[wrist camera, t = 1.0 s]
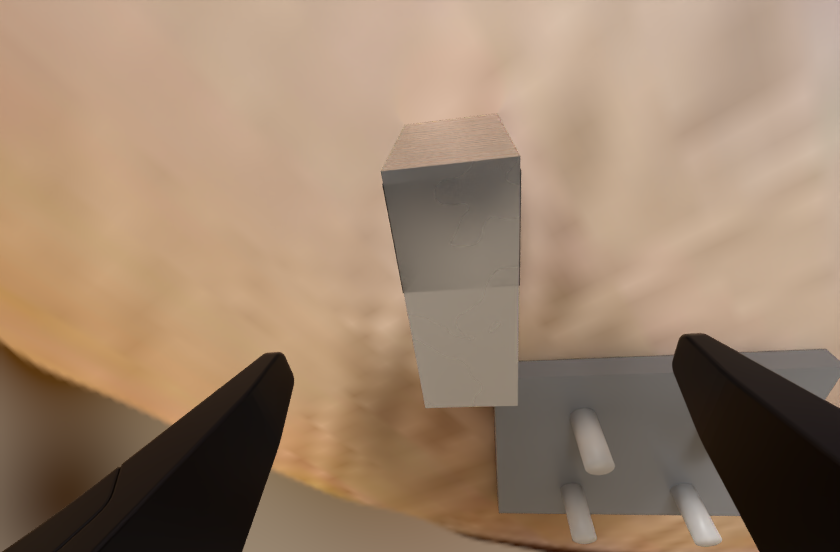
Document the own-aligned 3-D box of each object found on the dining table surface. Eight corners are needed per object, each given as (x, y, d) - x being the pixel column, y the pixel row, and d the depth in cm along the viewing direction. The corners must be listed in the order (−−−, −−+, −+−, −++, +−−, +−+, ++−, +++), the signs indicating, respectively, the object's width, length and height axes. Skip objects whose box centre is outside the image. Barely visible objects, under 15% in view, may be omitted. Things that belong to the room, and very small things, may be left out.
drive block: (497, 112, 12) (521, 155, 8) (501, 309, 16) (518, 405, 12) (404, 124, 13) (380, 171, 8) (431, 313, 17) (424, 407, 13)
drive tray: (826, 349, 16) (909, 420, 13) (737, 497, 22) (780, 568, 19) (491, 362, 18) (499, 427, 15) (497, 496, 24) (503, 560, 21)
